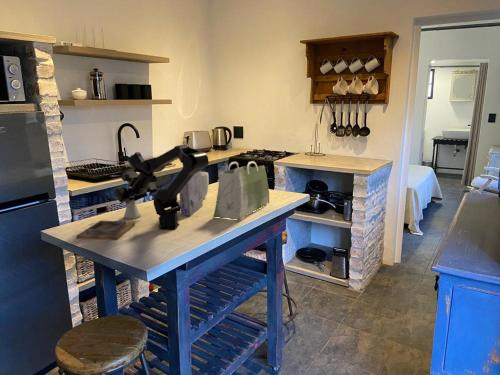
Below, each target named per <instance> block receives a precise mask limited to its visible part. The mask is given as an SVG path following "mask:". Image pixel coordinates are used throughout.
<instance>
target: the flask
mask: <svg viewBox="0 0 500 375" xmlns="http://www.w3.org/2000/svg"><path fill="white" fill-rule="evenodd" d="M133 198H134V196H133ZM141 216H142V213H141V212H140V210H139V208H138V205H137V204H136V201H135V200H132V201H131V202H129V203H127V204H126V208H125V212H124V215H123V219H126V220H127V219H128V220H129V219H130V220H131V219H132V220H133V219H137V218H140V217H141Z"/></svg>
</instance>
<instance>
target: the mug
mask: <svg viewBox="0 0 500 375" xmlns="http://www.w3.org/2000/svg"><path fill="white" fill-rule="evenodd" d="M201 184H202V200H203V199H205V198H206V196H207V195H208V193H209V186H210V185H209V172H206V171H201Z"/></svg>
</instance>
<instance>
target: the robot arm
mask: <svg viewBox="0 0 500 375" xmlns="http://www.w3.org/2000/svg"><path fill="white" fill-rule="evenodd" d="M178 159H179V162H180V163H182V168H181V170H180V171H179V172H178V173H177V175H176V176H175V177H174V178H173V180H172V181H171V183H170V184H169V185H168V187H166V188H162V189H159V190H158V188H157V186H156V184H155V182H158V178H157V175H156V174H155V173H160V172H162V171H163V170H164V169H165V168H166V167H167V165H169V164H170V163H172V162H174V161H177V160H178ZM126 161H127V162H128V164H129V166H130V167H131V168H132V170H129V171H125V172H123V173H122V174H121V178H120V179H121V180H122V181H123V182H127V183H128V187H129V188H126V186H122V185H121V186H118V187H115V188H114V190H113V193H114V195H115V196H116V198H117V200H118V201H119V202H120V203H125V204H126V205H127V203H129V202H131V201H132V200H135V202H137V201H139V200H141V199H144V198H145V197H148V196H149V195H148V193H147V191H148V190H149V194H150V195H151V196H152V195H153V196H154V198H153V200H152V202H153V203H152V204H153V208H154V209H155V214H156V215H158V225H159V230H169V231H171V230H172V231H174V230H176V229H177V228H178V227H179V226H180V223H179V221H178V220H179V219H178V218H179V217H178V212H181V206H180V202H179V201H178V195H179V192H180V191H181V190H182V189H183V188H184V186H185V185H186V184H187V183H188V181H189V180H190V179H191V178H192V177H193V175H194V174H196V173H197V172H199V171H201V172H202V171H203V170H204V169H205V168H206V167H208V166H209V164H210V161H209V157H208V155H207V154H206V152H204V151H200V150H198V149H196V148H193V147H190V146H188V145H186V144H179V145H176V146H174V147H173V148H171V149H169V150H167V151H166V152H165V153H163V154H160V155H159V156H156V157H151V158H148V159H144V157H143V156H142V154H141V152H140V151H136V152H135V153H134V154H131V155H130V156H129V157H127V159H126ZM133 196H134V198H133Z"/></svg>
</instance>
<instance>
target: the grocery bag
mask: <svg viewBox="0 0 500 375" xmlns="http://www.w3.org/2000/svg"><path fill="white" fill-rule="evenodd" d="M234 164H235V165H236V166H237V167H236V168H234V169H231V167H232V165H234ZM251 164H254V165H255V166H254V167H253V166H250V165H251ZM227 169H228V170H224V171H222V172H219V173H218V188H217V194H216V201H215V207H214V213H213V218H214V217H220V218H230V219H237V220H240V221H242V220H243V219H244V218H245V217H247V216H248V215H247V214H249V213H251V214H253V213H254V212H253V211H255V210H257V209H259V208H261V207H263V206H265V205H266V204H267V203H270V188H269V184H268V182H269V181H268V177H267V176H268V175H267V172H266V168H265V165H259V166H258V165H257V162H255V160H252V161H248V163H247V165H245V166H241V167H239V162H237V161H232V162H230V163H229V165H228V168H227ZM267 205H268V204H267ZM267 205H266V206H267ZM266 206H265V207H266ZM263 208H264V207H263ZM261 209H262V208H261ZM259 210H260V209H259ZM257 211H258V210H257ZM252 212H253V213H252ZM255 212H256V211H255ZM246 215H247V216H246ZM249 215H250V214H249ZM244 216H245V217H244ZM243 217H244V218H243ZM220 218H219V219H220ZM242 218H243V219H242ZM241 219H242V220H241Z"/></svg>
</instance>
